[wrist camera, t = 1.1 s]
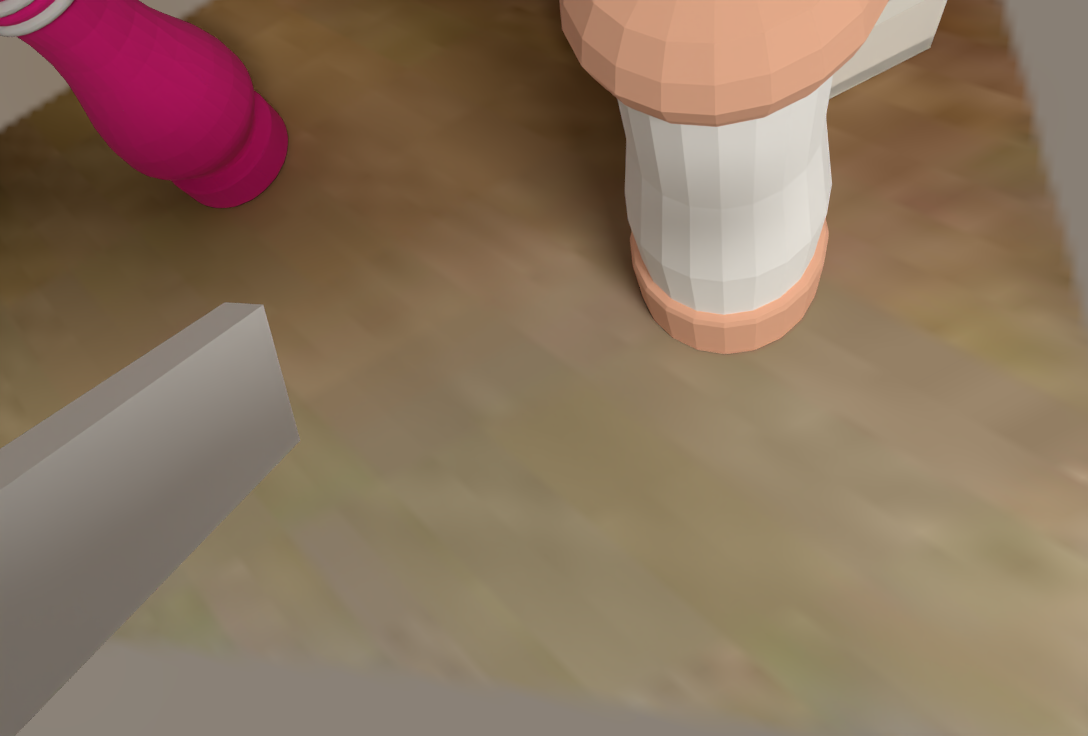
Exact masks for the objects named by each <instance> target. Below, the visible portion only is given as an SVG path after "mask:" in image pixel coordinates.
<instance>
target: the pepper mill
mask: <svg viewBox="0 0 1088 736" xmlns="http://www.w3.org/2000/svg"><path fill="white" fill-rule="evenodd" d="M0 36H6V37H15V36H16V37H18V38H20V39H21V40H23V41H24V42H26V43H27V44H29V45H30V46H31V47H33V48H34V49H35V50H36V51H37V52H38V53H39V54H41V55H42V56H43V57H44V58H45V59H46V60H48V61H49V62H50V63H51V64H52V65H53V66H54V67H55V69H56V70H57V71H58V72H59V73H60V75H61V76H62V77H63V78H64V79H65V80H66V82H67V83H68V85H69V86H70V88H71V89H72V91H73V92H74V94H75V95H76V97H77V99H78V100H79V102H80V104H81V105H82V107H83V109H84V111H85V112H86V114H87V116H88V117H89V119H90V121H91V123H92V124H93V126H94V128H95V129H96V131H97V132H98V133H99V134H100V136H101V137H102V138H103V139H104V141H105V142H106V143H107V144H108V146H109V147H110V148H111V149H112V150H113V151H114V152H115V153H116V154H117V155H118V156H120V157H121V158H122V159H123V160H124V161H126V162H127V163H128V164H129V165H130V166H131V167H133V168H134V169H136V170H137V171H139V172H140V173H143V174H145V175H147V176H149V177H154V178H158V179H162V180H171V181H172V182H173V183H174V184H175V185H176V186H177V187H179V188H180V189H181V190H183V191H184V192H185V193H187V194H188V195H190V196H191V197H192V198H194V199H195V200H197V201H198V202H199V203H201V204H204V205H206V206H210V207H214V208H228V207H235V206H238V205H240V204H243V203H245V202H248V201H250V200H252V199H254V198H255V197H256V196H258V195H259V194H260V193H262V192H263V191H264V190H266V188H267V187H268V186H269V185H270V184H271V183H272V182H273V181H274V179H275V178H276V177H277V175H278V173H279V171H280V169H281V167H282V165H283V163H284V161H285V157H286V154H287V146H288V135H287V130H286V126H285V124H284V122H283V120H282V118H281V117H280V116H279V114H278V113H277V112H276V111H275V110H274V109H273V108H272V107H271V106H270V105H269V104H268V103H267V102H266V101H265V100H264V99H263V98H262V97H261V95H260V94H258V93H257V92H256V91H254V88H253V84H252V81H251V78H250V75H249V73H248V71H247V69H246V67H245V66H244V64H243V63H242V62H241V60H240V59H239V58H238V57H237V56H236V55H235V54H234V53H233V52H232V51H231V50H230V49H229V48H227V47H226V46H225V45H224V44H223V43H222V42H221V41H220V40H218V39H217V38H215V37H214V36H212V35H210V34H209V33H207V32H205V31H204V30H202V29H200V28H198V27H197V26H195V25H193V24H191V23H188V22H185V21H183V20H180V19H178V18H175V17H172V16H170V15H167V14H164V13H162V12H159V11H157V10H155V9H152V8H150V7H148V6H146V5H145V4H143V3H142V2H140V1H139V0H0Z"/></svg>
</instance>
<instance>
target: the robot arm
mask: <svg viewBox="0 0 1088 736" xmlns="http://www.w3.org/2000/svg"><path fill="white" fill-rule="evenodd" d="M299 441H300V438H299V434H298V431H297V427H296V423H295V420H294V416H293V412H292V409H291V405H290V401H289V398H288V394H287V390H286V387H285V383H284V379H283V376H282V372H281V368H280V365H279V361H278V357H277V354H276V350H275V346H274V343H273V339H272V335H271V332H270V328H269V324H268V321H267V317H266V313H265V310H264V306H263V305H260V304H243V303H226V302H224V303H223V304H221V305H220V306H218V307H217V308H215V309H214V310H212V311H211V312H209V313H208V314H206V315H205V316H203V317H201V318H200V319H198V320H197V321H195V322H194V323H192V324H191V325H189V326H188V327H186V328H185V329H183V330H182V331H180V332H178V333H177V334H175V335H174V336H172V337H171V338H169V339H168V340H166V341H165V342H163V343H162V344H160V345H159V346H157V347H155V348H154V349H152V350H151V351H149V352H148V353H146V354H145V355H143V356H142V357H140V358H139V359H137V360H136V361H134V362H132V363H131V364H129V365H128V366H126V367H125V368H123V369H122V370H120V371H119V372H117V373H116V374H114V375H113V376H111V377H110V378H108V379H106V380H105V381H103V382H102V383H100V384H99V385H97V386H96V387H94V388H93V389H91V390H90V391H88V392H87V393H85V394H83V395H82V396H80V397H79V398H77V399H76V400H74V401H73V402H71V403H70V404H68V405H67V406H65V407H64V408H62V409H60V410H59V411H57V412H56V413H54V414H53V415H51V416H50V417H48V418H47V419H45V420H44V421H42V422H41V423H39V424H37V425H36V426H34V427H33V428H31V429H30V430H28V431H27V432H25V433H24V434H22V435H21V436H19V437H18V438H16V439H14V440H13V441H11V442H10V443H8V444H7V445H5V446H4V447H2V448H1V449H0V736H15V735H16V734H17V733H18V732H19V731H20V730H21V729H22V728H23V727H24V726H25V725H26V724H27V723H28V722H29V721H30V720H31V719H32V717H34V716H35V714H36V713H37V712H38V711H39V710H40V709H41V708H42V707H43V706H44V705H45V704H46V703H47V702H48V701H49V700H50V699H51V698H52V697H53V696H54V695H55V694H56V693H57V692H58V691H59V690H60V689H61V688H62V686H63V685H64V684H65V683H66V682H67V681H68V680H69V679H70V678H71V677H72V676H73V675H74V674H75V673H76V672H77V671H78V670H79V669H80V668H81V667H82V666H83V665H84V664H85V663H86V662H87V661H88V660H89V659H90V657H91V656H92V655H93V654H94V653H95V652H96V651H97V650H98V649H99V648H100V647H101V646H102V645H103V644H104V643H105V642H106V641H107V640H108V639H109V638H110V637H111V636H112V635H113V634H114V633H115V632H116V631H117V630H118V629H119V628H120V626H121V625H122V624H123V623H124V622H125V621H126V620H127V619H128V618H129V617H130V616H131V615H132V614H133V613H134V612H135V611H136V610H137V609H138V608H139V607H140V606H141V605H142V604H143V603H144V602H145V601H146V600H147V599H148V597H149V596H150V595H151V594H152V593H153V592H154V591H155V590H156V589H157V588H158V587H159V586H160V585H161V584H162V583H163V582H164V581H165V580H166V579H167V578H168V577H169V576H170V575H171V574H172V573H173V572H174V571H175V570H176V569H177V567H178V566H179V565H180V564H181V563H182V562H183V561H184V560H185V559H186V558H187V557H188V556H189V555H190V554H191V553H192V552H193V551H194V550H195V549H196V548H197V547H198V546H199V545H200V544H201V543H202V542H203V541H204V540H205V538H206V537H207V536H208V535H209V534H210V533H211V532H212V531H213V530H214V529H215V528H216V527H217V526H218V525H219V524H220V523H221V522H222V521H223V520H224V519H225V518H226V517H227V516H228V515H229V514H230V513H231V512H232V511H233V509H234V508H235V507H236V506H237V505H238V504H239V503H240V502H241V501H242V500H243V499H244V498H245V497H246V496H247V495H248V494H249V493H250V492H251V491H252V490H253V489H254V488H255V487H256V486H257V485H258V484H259V483H260V482H261V481H262V479H263V478H264V477H265V476H266V475H267V474H268V473H269V472H270V471H271V470H272V469H273V468H274V467H275V466H276V465H277V464H278V463H279V462H280V461H281V460H282V459H283V458H284V457H285V456H286V455H287V454H288V453H289V452H290V450H291V449H292V448H293V447H294V446H295V445H296V444H297V443H298V442H299Z"/></svg>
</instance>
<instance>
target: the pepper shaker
mask: <svg viewBox="0 0 1088 736" xmlns="http://www.w3.org/2000/svg"><path fill="white" fill-rule="evenodd" d="M888 1H889V0H559V2H560V13H561V23H562V30H563V32H564V34H565V36H566V38H567V40H568V42H569V44H570V45H571V47H572V49H573V51H574V53H575V55H576V57H577V59H578V61H579V62H580V64H581V66H582V67H583V68H584V69H585V70H586V71H587V72H588V73H589V74H590V75H591V76H592V78H594V79H595V80H596V81H597V82H598V83H599V84H601V85H602V86H603V87H604V88H605V89H606V90H608V91H609V92H610V93H611V94H612V95H614V96H615V97H616V98H617V100H618V104H619V109H620V113H621V118H622V122H623V126H624V131H625V135H626V168H625V199H626V208H627V216H628V221H629V224H630V227H631V230H632V232H631V236H630V246H631V254H632V263H633V268H634V271H635V274H636V277H637V281H638V284H639V287H640V290H641V293H642V296H643V298H644V300H645V302H646V305H647V307H648V309H649V311H650V313H651V315H652V317H653V319H654V320H655V321H656V322H657V323H658V324H659V325H660V326H661V327H662V328H663V329H664V330H665V331H666V332H667V333H668V334H669V335H670V336H671V337H672V338H674V339H676V340H678V341H680V342H682V343H684V344H686V345H688V346H691V347H693V348H695V349H697V350H702V351H708V352H715V353H721V354H730V353H738V352H745V351H752V350H756V349H758V348H760V347H762V346H765V345H767V344H769V343H771V342H773V341H775V340H778V339H780V338H781V337H782V336H784V335H785V334H786V333H787V332H788V331H789V330H790V329H791V328H792V327H794V326H795V325H796V324H797V323H798V322H799V321H800V320H801V319H802V318H803V316H804V314H805V312H806V311H807V309H808V307H809V305H810V304H811V302H812V300H813V298H814V296H815V294H816V290H817V287H818V283H819V279H820V276H821V272H822V268H823V265H824V260H825V254H826V248H827V242H828V236H829V232H828V227H827V222H826V214H827V209H828V203H829V197H830V191H831V185H832V180H831V168H830V157H829V146H828V134H827V123H826V112H827V107H828V101H829V95H830V90H831V84H832V78H833V74H834V73H835V72H836V71H838V70H839V69H840V68H841V67H842V66H843V65H844V64H845V63H846V62H848V61H849V60H850V59H851V58H852V57H853V56H854V55H855V53H856V52H857V51H858V50H859V48H860V47H861V46H862V45H863V43H864V42H865V41H866V39H867V38H868V36H869V34H870V32H871V31H872V29H873V27H874V25H875V24H876V22H877V20H878V19H879V17H880V15H881V13H882V12H883V10H884V8H885V6H886V5H887V3H888Z"/></svg>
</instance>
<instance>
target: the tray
mask: <svg viewBox="0 0 1088 736" xmlns="http://www.w3.org/2000/svg"><path fill="white" fill-rule="evenodd" d="M946 2H947V0H889V1H888V3H887V5H886V6H885V8H884V10H883V12H882V13H881V15H880V17H879V19H878V20H877V22H876V24H875V25H874V27H873V29H872V31H871V32H870V34H869V36H868V38H867V39H866V41H865V42H864V43H863V45H862V46H861V47H860V48H859V50H858V51H857V52H856V53H855V55H854V56H853V57H852V58H851V59H850V60H849V61H848V62H846V63H845V64H844V65H843V66H842V67H841V68H840V69H839V70H838V71H836V72H835V73H834V74H833V78H832V84H831V90H830V95H829V99H830V98H832V97H834V96H836V95H838V94H840V93H842V92H844V91H846V90H848V89H850V88H852V87H854V86H856V85H858V84H860V83H862V82H864V81H866V80H868V79H870V78H872V77H874V76H876V75H877V74H879V73H881V72H883V71H885V70H887V69H889V68H891V67H893V66H895V65H897V64H899V63H901V62H903V61H905V60H907V59H909V58H911V57H913V56H915V55H917V54H919V53H921V52H923V51H925V50H927V49H929V48H930V46H931V44H932V41H933V38H934V35H935V33H936V30H937V27H938V24H939V21H940V19H941V16H942V13H943V10H944V8H945V5H946Z"/></svg>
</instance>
